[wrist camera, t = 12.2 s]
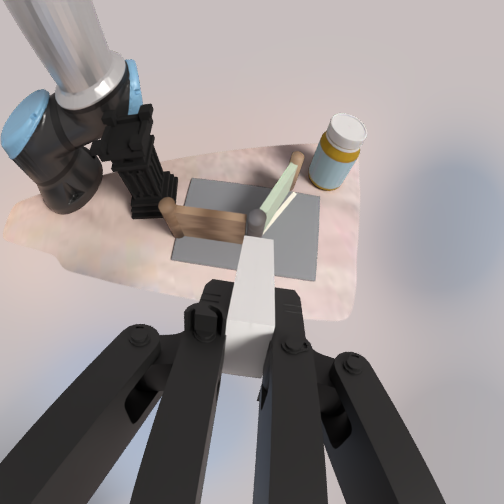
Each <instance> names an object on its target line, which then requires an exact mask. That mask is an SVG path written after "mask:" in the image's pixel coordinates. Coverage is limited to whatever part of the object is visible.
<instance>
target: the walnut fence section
mask: <svg viewBox="0 0 504 504" xmlns="http://www.w3.org/2000/svg"><path fill="white" fill-rule="evenodd" d="M158 207H159V210H160V212H161V213H162V215H163V217H164V219H165V221H166V223H167V225H168V226H169V228H170V230H171V232H172V234H173V236H174V237H175V238H178V239H179V238H183V237H184V236H188V237H195V238H202V239H208V240H215V241H222V242H229V243H236V244H243V240H244V235H245V231H246V219H247V214H240V213H233V212H226V211H219V210H211V209H204V208H196V207H188V206H180V205H176V204H175V201H174V200H173V199H172V198H170V197H165V198H163V199H162V200H161V201H160V202H159V205H158ZM266 219H267V216H266V213H265V212H264V211H263V210H261V209H254V210H252V211H251V212H250V213H249V218H248V228H247V236H252V237H258V238H262V235H263V231H264V227H265V223H266Z"/></svg>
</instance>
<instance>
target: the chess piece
mask: <svg viewBox="0 0 504 504" xmlns="http://www.w3.org/2000/svg"><path fill="white" fill-rule="evenodd" d="M152 113H153V107H152V104H145V105H140V108H139V111H138V114H132V115H126V116H120V117H118V119H116V113H115V110H109V111H104V113H103V116H102V118H101V120H102V122H103V124H104V125H107V126H106V127H105V129H104V132H103V135H102V138H101V140H95V141H93V142H92V145H91V148H90V152H91V153H92V155H93V156H96V155H98V156H99V158H100V159H101V161H102V162H104V161H111V162H112V163H113V164H112V168H111V169H112V171H113V172H118V173H119V175H120V177H121V178H122V180H123V182H124V183H125V185H126V186H127V188H128V190H129V191H130V193H131V194H132V199H131V206H132V209H131V212H132V218H133V219H147V218H164V217H163V215H162V213H161V212H160V210H159V207H158V205H159V202H160V201H161V200H162V199H163V198H165V197H170V198H172V199H173V200H174V201H175V204H176V196H177V185H178V177H174V174H170V171H166V172H163V170H162V167H161V164H160V162H159V159H158V156H157V153H156V151H155V148H154V145H153V144H154V139H155V137H154V135H150V133H151V128H152V124H153V120H152Z"/></svg>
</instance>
